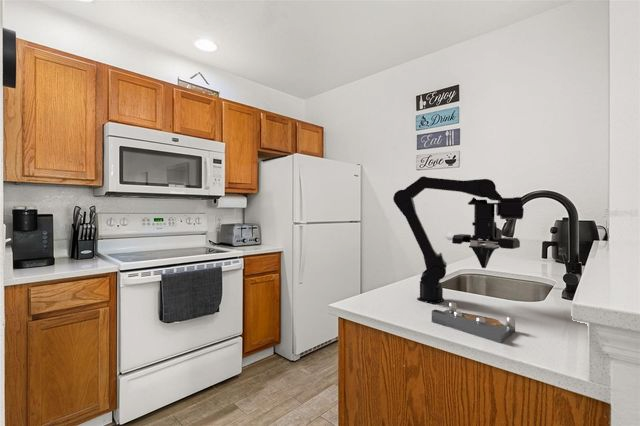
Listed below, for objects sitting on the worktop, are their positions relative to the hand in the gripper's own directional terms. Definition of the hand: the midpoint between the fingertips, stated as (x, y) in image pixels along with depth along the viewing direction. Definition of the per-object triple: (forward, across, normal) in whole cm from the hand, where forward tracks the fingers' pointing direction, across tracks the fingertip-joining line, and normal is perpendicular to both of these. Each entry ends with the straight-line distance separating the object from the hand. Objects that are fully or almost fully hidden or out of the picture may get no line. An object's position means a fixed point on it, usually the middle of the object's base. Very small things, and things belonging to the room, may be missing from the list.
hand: (484, 267), depth 103 cm
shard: (+13, -6, +17) cm, 22 cm away
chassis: (+12, -6, +20) cm, 24 cm away
